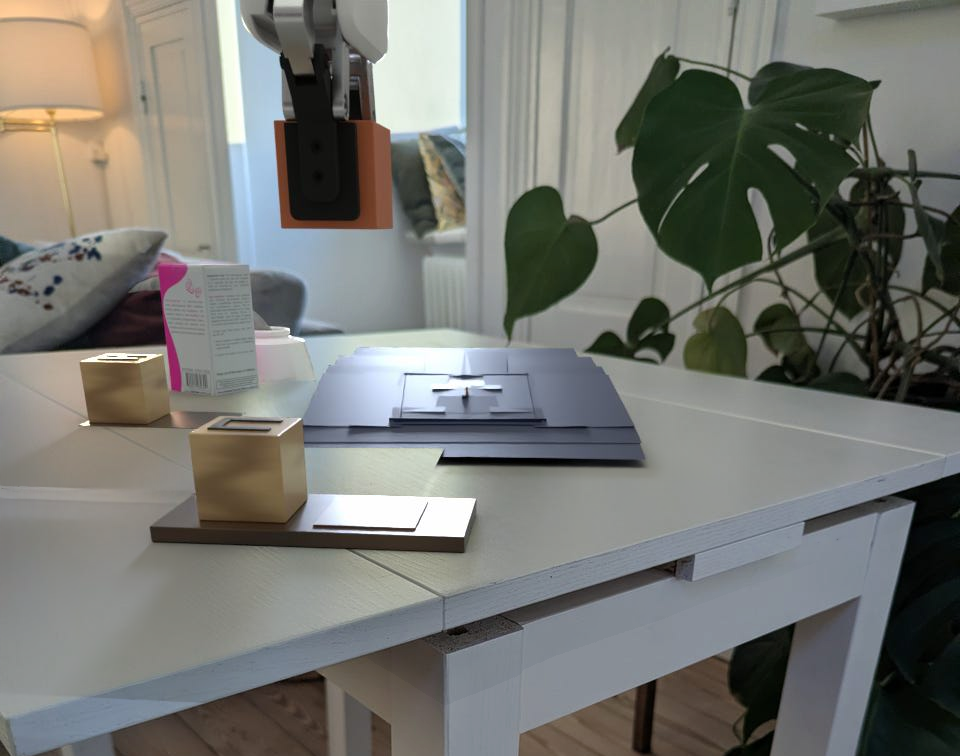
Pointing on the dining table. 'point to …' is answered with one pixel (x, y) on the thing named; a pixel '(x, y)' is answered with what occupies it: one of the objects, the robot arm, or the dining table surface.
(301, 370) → the white piece
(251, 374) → the supplement box
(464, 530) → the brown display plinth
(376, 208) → the orange embossed-top cube
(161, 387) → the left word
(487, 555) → the dining table surface
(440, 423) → the grey stepped plate
